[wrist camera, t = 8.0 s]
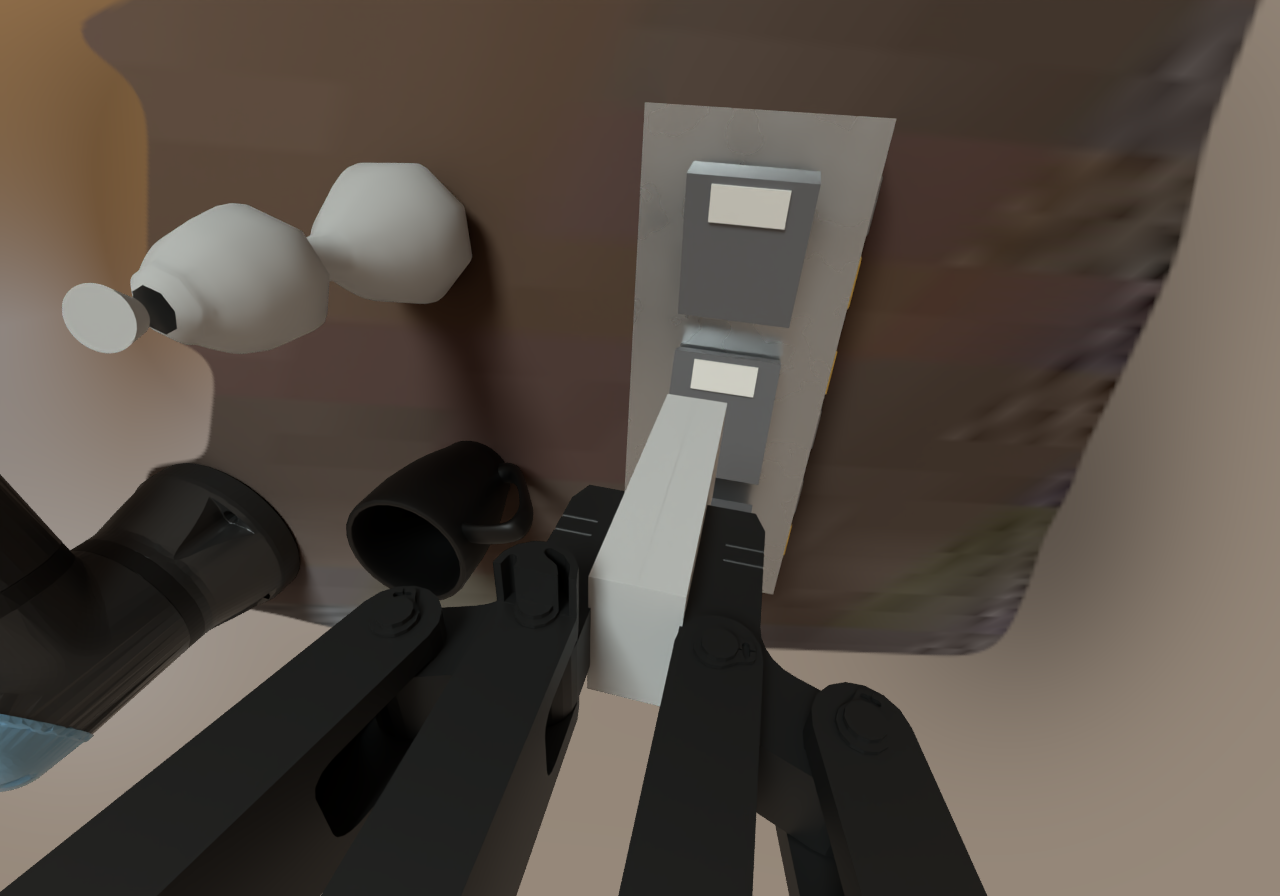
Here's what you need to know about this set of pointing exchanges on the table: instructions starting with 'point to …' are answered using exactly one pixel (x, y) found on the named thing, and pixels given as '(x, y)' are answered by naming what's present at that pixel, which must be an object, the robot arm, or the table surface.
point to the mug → (438, 518)
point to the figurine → (284, 266)
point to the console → (804, 349)
